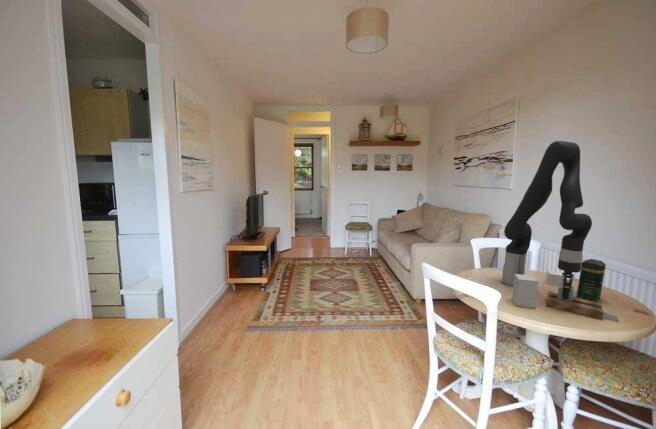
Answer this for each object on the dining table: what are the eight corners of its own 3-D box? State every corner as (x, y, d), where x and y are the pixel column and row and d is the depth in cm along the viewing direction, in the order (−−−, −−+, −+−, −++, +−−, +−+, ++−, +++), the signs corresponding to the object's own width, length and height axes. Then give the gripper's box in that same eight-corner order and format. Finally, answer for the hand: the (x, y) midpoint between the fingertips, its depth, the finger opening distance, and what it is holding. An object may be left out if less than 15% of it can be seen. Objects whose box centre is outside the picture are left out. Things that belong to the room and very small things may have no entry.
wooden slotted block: (545, 306, 124) (546, 298, 123) (547, 298, 132) (547, 291, 131) (602, 320, 113) (603, 311, 112) (599, 310, 121) (601, 302, 120)
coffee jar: (596, 303, 127) (603, 264, 124) (574, 297, 133) (579, 259, 131) (602, 298, 133) (608, 260, 130) (580, 292, 139) (585, 256, 136)
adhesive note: (562, 286, 146) (563, 275, 145) (548, 284, 149) (549, 273, 148) (559, 283, 152) (561, 272, 151) (545, 280, 154) (547, 270, 153)
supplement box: (529, 301, 128) (533, 275, 127) (535, 309, 122) (539, 281, 120) (511, 299, 131) (514, 273, 129) (516, 306, 124) (519, 278, 122)
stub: (556, 304, 125) (559, 285, 124) (556, 303, 126) (559, 283, 125) (571, 307, 122) (574, 288, 121) (571, 306, 123) (573, 286, 122)
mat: (603, 318, 114) (603, 318, 114) (602, 313, 119) (602, 312, 119) (619, 322, 111) (619, 321, 111) (617, 316, 116) (617, 316, 116)
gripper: (559, 254, 129) (554, 289, 131) (558, 261, 118) (553, 299, 120) (581, 257, 124) (575, 293, 127) (582, 265, 113) (576, 305, 116)
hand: (565, 296), depth 124 cm, fingers open, 5 cm apart
